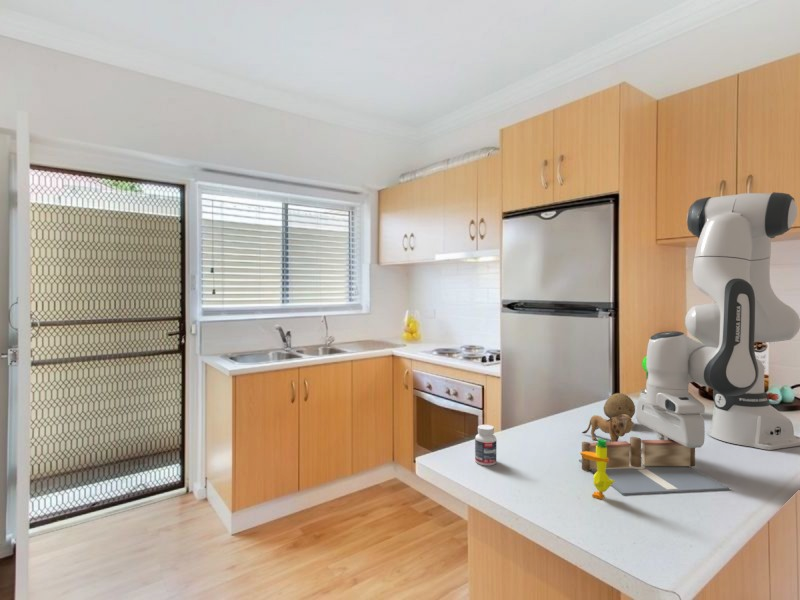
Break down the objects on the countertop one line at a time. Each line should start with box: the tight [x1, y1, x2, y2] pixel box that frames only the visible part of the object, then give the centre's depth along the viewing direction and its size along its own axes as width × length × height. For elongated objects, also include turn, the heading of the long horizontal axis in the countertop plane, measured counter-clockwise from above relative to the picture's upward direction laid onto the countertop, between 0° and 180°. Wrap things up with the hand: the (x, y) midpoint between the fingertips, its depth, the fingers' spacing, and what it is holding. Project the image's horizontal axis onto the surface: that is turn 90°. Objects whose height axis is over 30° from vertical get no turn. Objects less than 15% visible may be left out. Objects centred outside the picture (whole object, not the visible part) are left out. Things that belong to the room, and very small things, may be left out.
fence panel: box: [641, 439, 696, 467], centre depth 102 cm, size 12×2×6 cm, turn 88°
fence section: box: [581, 436, 642, 472], centre depth 102 cm, size 15×2×7 cm, turn 95°
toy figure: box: [579, 438, 615, 500], centre depth 88 cm, size 7×4×12 cm, turn 50°
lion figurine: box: [581, 414, 635, 442], centre depth 121 cm, size 15×5×9 cm, turn 35°
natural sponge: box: [603, 392, 636, 419], centre depth 136 cm, size 9×9×10 cm
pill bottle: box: [474, 424, 497, 467], centre depth 107 cm, size 5×5×9 cm
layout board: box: [579, 456, 731, 496], centre depth 99 cm, size 24×18×1 cm
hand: (666, 452), depth 105 cm, fingers closed
